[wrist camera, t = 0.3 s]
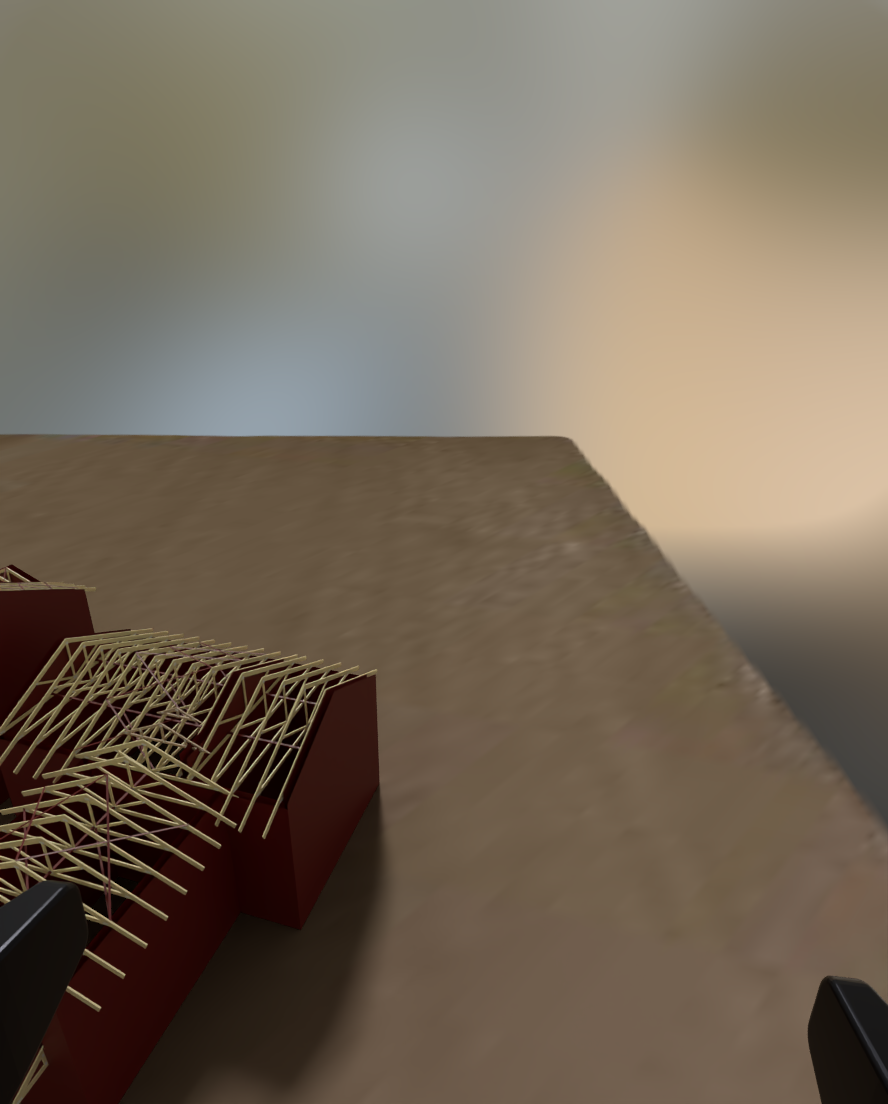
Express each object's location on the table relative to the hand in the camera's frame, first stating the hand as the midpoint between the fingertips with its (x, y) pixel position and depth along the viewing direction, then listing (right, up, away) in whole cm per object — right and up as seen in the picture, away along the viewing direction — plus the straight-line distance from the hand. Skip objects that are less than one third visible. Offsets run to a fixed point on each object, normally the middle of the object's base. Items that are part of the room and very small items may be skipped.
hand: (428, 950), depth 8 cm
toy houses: (-27, -7, +25) cm, 37 cm away
